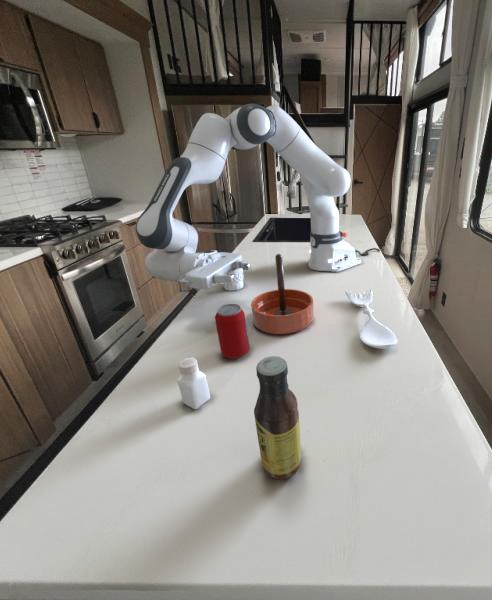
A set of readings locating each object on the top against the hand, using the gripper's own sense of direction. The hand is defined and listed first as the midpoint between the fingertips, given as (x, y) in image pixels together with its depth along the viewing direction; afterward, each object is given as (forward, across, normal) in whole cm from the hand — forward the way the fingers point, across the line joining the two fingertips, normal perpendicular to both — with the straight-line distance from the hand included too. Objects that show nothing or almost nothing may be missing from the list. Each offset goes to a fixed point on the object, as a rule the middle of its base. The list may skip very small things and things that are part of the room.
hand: (241, 272), depth 90 cm
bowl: (+12, 0, +14) cm, 18 cm away
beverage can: (+6, -18, +14) cm, 23 cm away
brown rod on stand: (+12, 0, +13) cm, 17 cm away
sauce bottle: (+29, -44, +14) cm, 54 cm away
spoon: (+35, +5, +14) cm, 38 cm away
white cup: (-15, +19, +14) cm, 28 cm away
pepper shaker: (+7, -35, +14) cm, 38 cm away
